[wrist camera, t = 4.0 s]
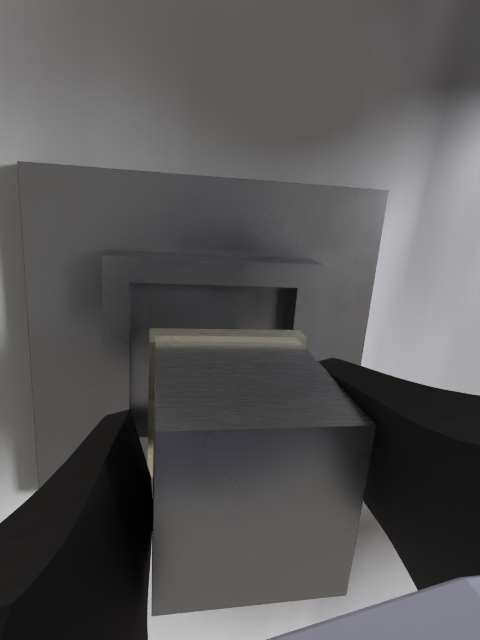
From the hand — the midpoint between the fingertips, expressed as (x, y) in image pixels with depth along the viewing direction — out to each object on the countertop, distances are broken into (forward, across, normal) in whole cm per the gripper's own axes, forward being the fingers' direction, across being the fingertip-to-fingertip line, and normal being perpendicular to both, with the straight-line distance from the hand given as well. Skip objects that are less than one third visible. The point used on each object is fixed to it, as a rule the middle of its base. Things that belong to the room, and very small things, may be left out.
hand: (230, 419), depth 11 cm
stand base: (+6, 0, 0) cm, 6 cm away
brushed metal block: (+2, 0, 0) cm, 2 cm away
